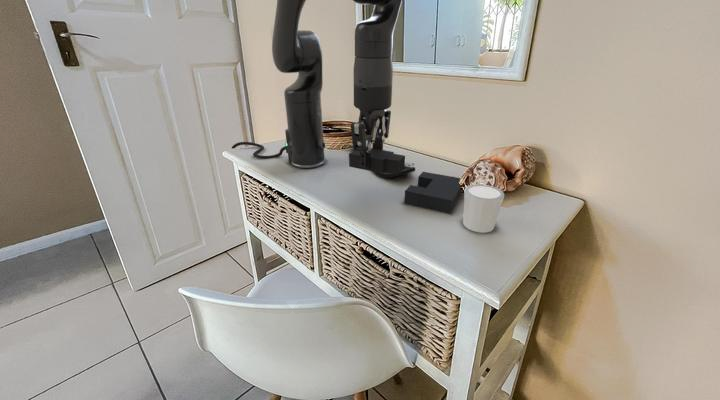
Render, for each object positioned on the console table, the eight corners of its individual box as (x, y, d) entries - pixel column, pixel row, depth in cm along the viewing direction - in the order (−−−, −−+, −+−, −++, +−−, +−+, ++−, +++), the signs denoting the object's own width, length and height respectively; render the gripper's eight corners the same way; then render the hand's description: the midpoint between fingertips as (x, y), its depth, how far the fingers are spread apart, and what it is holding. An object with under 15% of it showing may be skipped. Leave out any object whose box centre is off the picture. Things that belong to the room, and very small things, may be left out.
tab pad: (349, 166, 72) (348, 153, 70) (361, 158, 76) (361, 146, 75) (396, 176, 67) (396, 162, 66) (406, 167, 72) (406, 154, 70)
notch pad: (404, 203, 71) (404, 190, 70) (422, 182, 81) (422, 171, 79) (450, 213, 67) (452, 200, 66) (463, 190, 76) (465, 178, 75)
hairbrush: (363, 142, 100) (423, 161, 82) (363, 154, 102) (422, 175, 83) (340, 148, 96) (398, 169, 77) (341, 160, 98) (398, 184, 79)
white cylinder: (503, 223, 63) (510, 190, 60) (488, 238, 59) (495, 204, 56) (469, 212, 67) (474, 180, 64) (453, 225, 63) (457, 192, 60)
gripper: (371, 76, 71) (370, 151, 79) (336, 85, 60) (339, 172, 68) (404, 78, 68) (399, 156, 76) (374, 89, 57) (372, 179, 65)
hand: (371, 163), depth 72 cm, fingers closed on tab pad, 5 cm apart
